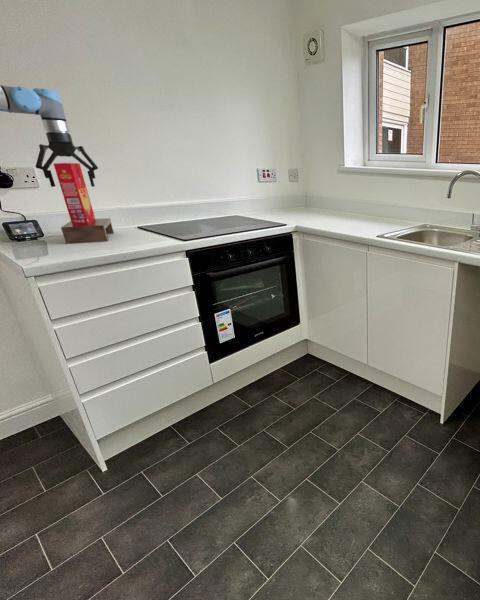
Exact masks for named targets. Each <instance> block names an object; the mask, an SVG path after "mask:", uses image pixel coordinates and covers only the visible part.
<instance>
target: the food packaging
mask: <svg viewBox="0 0 480 600" xmlns="http://www.w3.org/2000/svg"><path fill="white" fill-rule="evenodd" d="M53 167H54V170H55V173H56V177H57V180H58V184H59V186H60V189H61V193H62V196H63V200H64V203H65V206H66V210H67V212H68V213H67V214H68V216H69V218H70V221H71V222H72V225H89V224H90V223H92V222H93V221H95V219H96V215H95V213H94V210H93V207H92V202H91V198H90V195H89V192H88V187H87V185H86V182H85V177H84V174H83V170H82V167H81V163H80V162H75V163H74V162H56V163H53Z"/></svg>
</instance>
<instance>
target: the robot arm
mask: <svg viewBox="0 0 480 600" xmlns="http://www.w3.org/2000/svg"><path fill="white" fill-rule="evenodd" d="M0 112H4V113H10V114H12V113H14V114H25V115H35V116H40V118H41V122H42V125H43V129H44V131H46V133H45V135H46V139H47V141H48V144H47V145H46V144H42V143H40V144H38V147H39V152H38V155H37V159H36V163H35V168H36V169H40V170H42V173H43V175H44V177H45V179H48V180H49V184H50V187H51V188H54V187H56V184H55V180H54V177H53V174H52V171H51V169H49V168H50V167H51V166H52V164H53V162H54V161H55V159H56V158H57V157H68V158H70V157H72V158H74V159H75V160H76V161H77V162H78V163H80V165H82V166H83V167H85V168H86V169H87V175H88V179H89V182H90V186H91V187H93V188H94V187H96V186H95V182H94V180H95V179H96V174H95V171H96V170H98V169H99V166H98V165H97V163H95V161H94V160H93V159H92V158H91V156H89V154H88V153H87V151H86V150H85V147H84V146H82V145H79V146H78V145H77V146H75V145H74V143H73V139H72V135H71V134H70V133H69V132H70V128H69V125H68V121H67V118H66V115H65V111H64V107H63V103H62V100H61V97H60V95H59V93H58V92H57V91H56V90H54V89H49V88H39V87H34V88H33V89H31V88H29V87H26V86H10V85H0ZM48 149H49V150H50V151H52V152H51V154H50V156H49V157H48V159H47V160H46V162H45V163H43V162H44V159H45V155H46V151H48ZM76 150H77V151H78V152H79V153H81V154H82V156H83V157H84V158H85V159H86V160H87V162H88V163H89V164H88V163H87V162H86V161H85V160H83V159H82V158H81V157H80V156H79V155H78V154H76V153H75V152H76Z"/></svg>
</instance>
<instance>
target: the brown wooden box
mask: <svg viewBox="0 0 480 600" xmlns="http://www.w3.org/2000/svg"><path fill="white" fill-rule="evenodd" d="M113 227H114V226H113V224H112V220H111V218H110V217H109V218H95V221H93V222H92V223H90V224H89V225H72V222H71V220H70V221H69V222H67V223H65V224H64V225H62V226H61V227H60V229H61V233H62V236H63V239H64V242H65V245H68V244H85V242H86V243H99V242H101V241H102V242H108V241H109V238H108V234H114V233H115V231H114V228H113Z"/></svg>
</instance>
